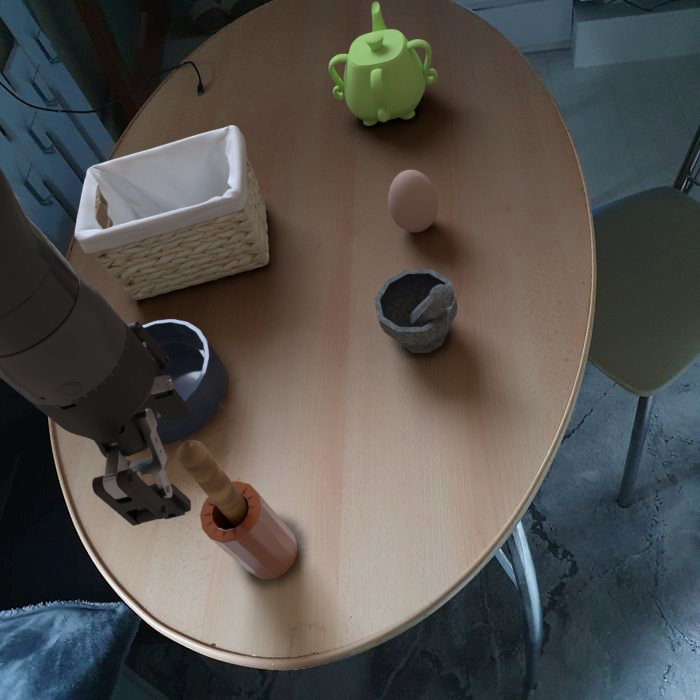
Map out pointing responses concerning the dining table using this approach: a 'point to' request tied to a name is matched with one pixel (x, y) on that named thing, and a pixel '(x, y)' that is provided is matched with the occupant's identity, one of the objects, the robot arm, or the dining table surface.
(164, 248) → the basket
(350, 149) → the dining table surface
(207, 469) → the stick
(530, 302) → the dining table surface
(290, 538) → the crock
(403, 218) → the egg
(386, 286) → the mortar and pestle
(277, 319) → the dining table surface
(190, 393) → the bowl
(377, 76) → the teapot
